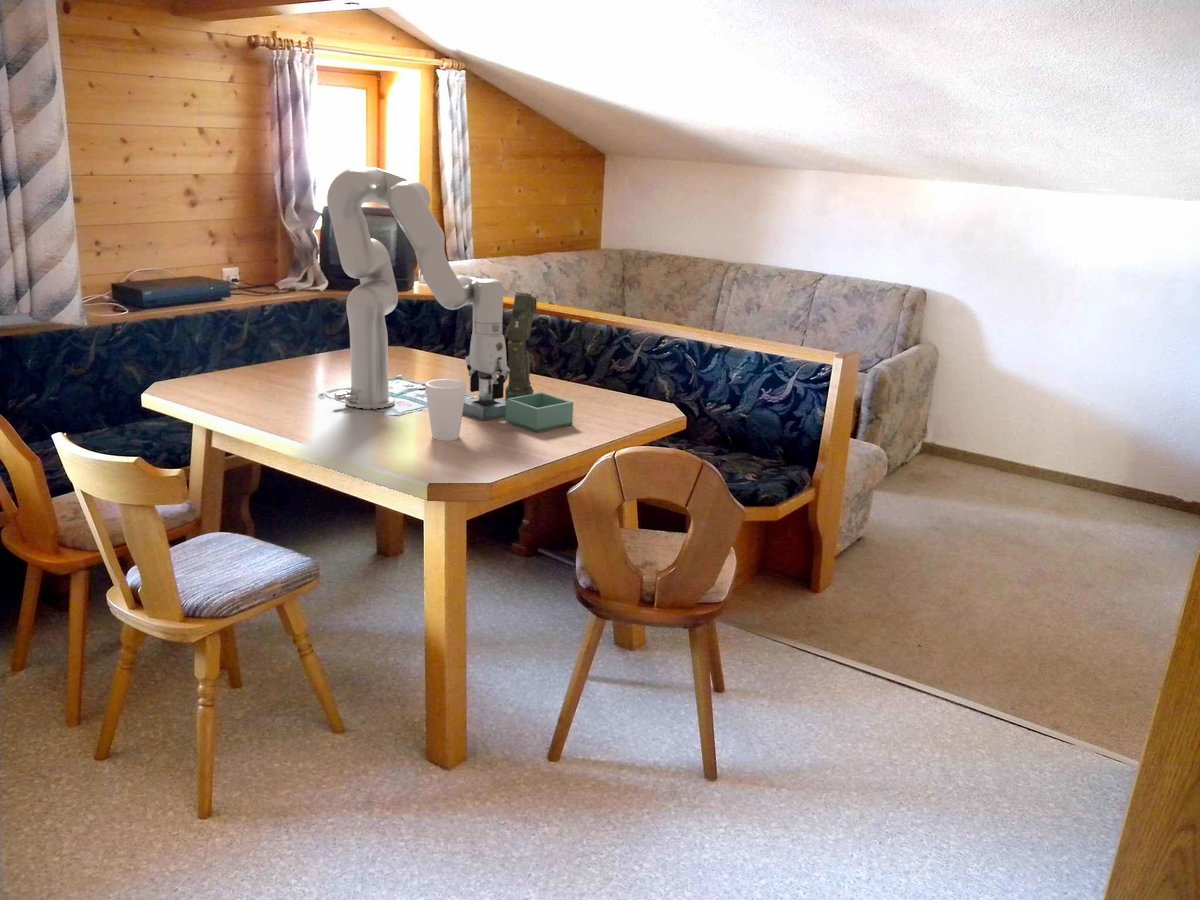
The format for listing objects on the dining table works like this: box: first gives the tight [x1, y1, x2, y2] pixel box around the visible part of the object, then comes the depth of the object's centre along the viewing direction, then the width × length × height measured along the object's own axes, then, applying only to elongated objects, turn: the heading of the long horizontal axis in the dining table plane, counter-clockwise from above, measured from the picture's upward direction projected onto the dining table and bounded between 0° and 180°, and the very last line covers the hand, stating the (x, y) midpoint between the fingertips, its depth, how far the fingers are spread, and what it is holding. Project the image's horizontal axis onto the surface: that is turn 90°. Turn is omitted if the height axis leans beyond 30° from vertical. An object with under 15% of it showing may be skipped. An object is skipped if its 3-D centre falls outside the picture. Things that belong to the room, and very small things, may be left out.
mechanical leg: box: [504, 292, 538, 401], centre depth 275 cm, size 14×7×30 cm, turn 168°
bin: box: [504, 392, 574, 433], centre depth 253 cm, size 12×12×6 cm
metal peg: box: [478, 371, 496, 406], centre depth 259 cm, size 5×5×12 cm
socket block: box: [462, 397, 506, 422], centre depth 260 cm, size 10×10×3 cm
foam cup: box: [424, 378, 467, 442], centre depth 237 cm, size 10×9×13 cm
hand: (486, 394), depth 259 cm, fingers open, 8 cm apart
